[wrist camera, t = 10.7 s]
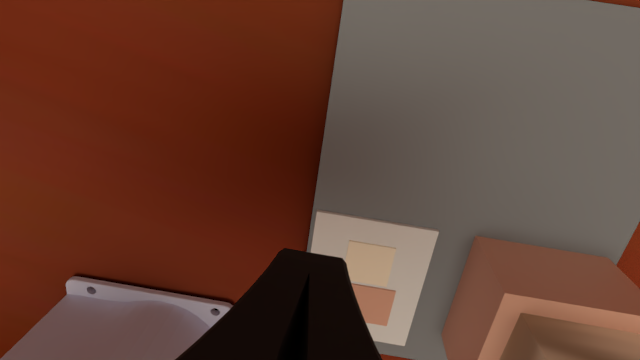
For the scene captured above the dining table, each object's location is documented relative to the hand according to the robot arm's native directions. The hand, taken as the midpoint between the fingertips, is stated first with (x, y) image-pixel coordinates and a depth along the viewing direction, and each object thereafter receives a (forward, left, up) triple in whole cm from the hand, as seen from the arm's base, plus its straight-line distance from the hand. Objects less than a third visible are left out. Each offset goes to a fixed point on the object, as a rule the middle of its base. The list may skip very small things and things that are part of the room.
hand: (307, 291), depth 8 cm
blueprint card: (+2, -6, -9) cm, 12 cm away
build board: (+6, -2, -10) cm, 12 cm away
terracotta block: (+10, -6, -9) cm, 15 cm away
